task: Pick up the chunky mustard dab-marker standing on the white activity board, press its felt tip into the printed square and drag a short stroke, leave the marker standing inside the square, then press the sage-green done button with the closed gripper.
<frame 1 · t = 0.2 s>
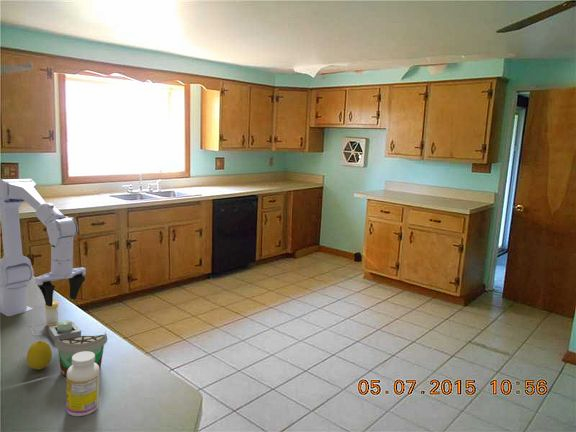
hand: (61, 301, 130), 10 cm above the countertop, tool pointing down, fingers open, 7 cm apart
lemon: (39, 370, 111), on the countertop
done button: (64, 327, 128), point 3 cm above the countertop, slide at 0.0 cm
button housing: (64, 336, 129), resting on board
board: (52, 332, 131), on the countertop
supplement bottle: (82, 409, 98), on the countertop
food container: (81, 376, 110), on the countertop
marker: (52, 324, 135), resting on board
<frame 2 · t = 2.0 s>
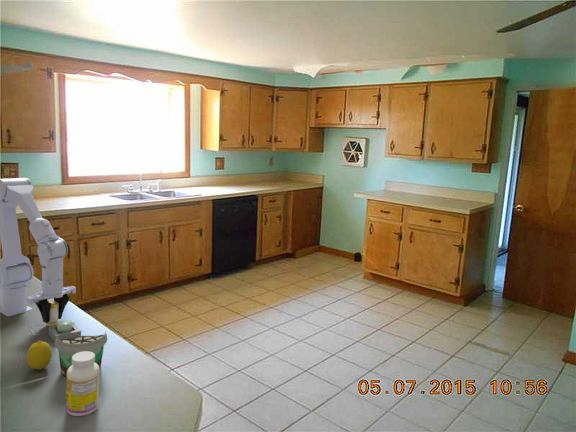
hand: (52, 320, 135), 2 cm above the countertop, tool pointing down, fingers closed on marker, 3 cm apart
marker: (52, 324, 135), resting on board, touching gripper
everything else where it was.
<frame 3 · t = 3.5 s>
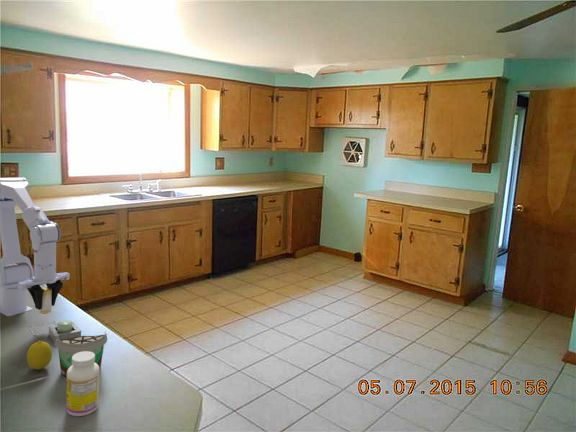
hand: (45, 306, 131), 7 cm above the countertop, tool pointing down, fingers closed on marker, 3 cm apart
marker: (45, 311, 131), point 6 cm above the countertop, touching gripper
everything else where it was.
when the fingers open (2 cm above the countertop, at t = 5.4 s): marker stays where it is, resting on board.
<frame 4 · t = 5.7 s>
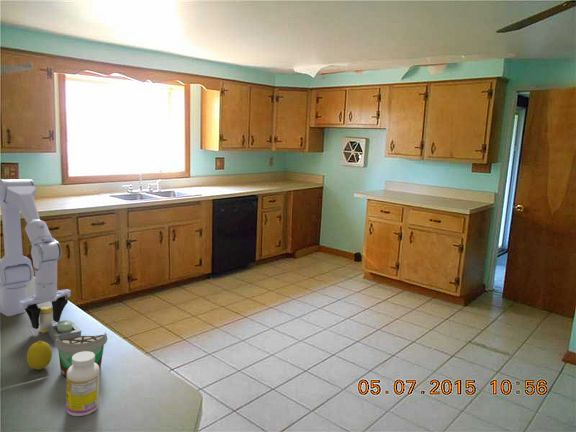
hand: (46, 324, 131), 2 cm above the countertop, tool pointing down, fingers open, 6 cm apart
marker: (46, 330, 131), resting on board
everything else where it was.
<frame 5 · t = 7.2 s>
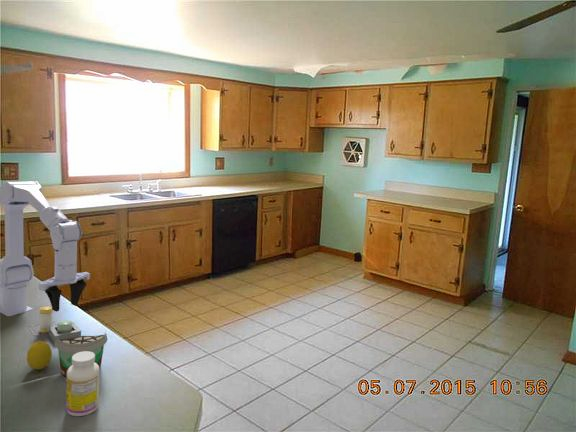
hand: (65, 307, 127), 9 cm above the countertop, tool pointing down, fingers open, 5 cm apart
nothing on the countertop moved.
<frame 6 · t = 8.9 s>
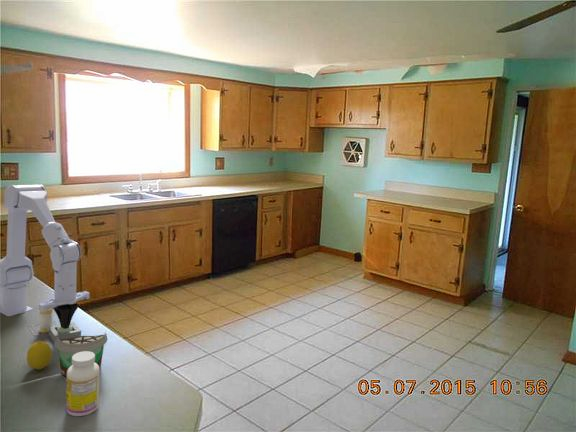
hand: (65, 327, 128), 3 cm above the countertop, tool pointing down, fingers closed, pressing on done button
done button: (64, 331, 128), point 2 cm above the countertop, slide at 1.3 cm, touching gripper
everything else where it was.
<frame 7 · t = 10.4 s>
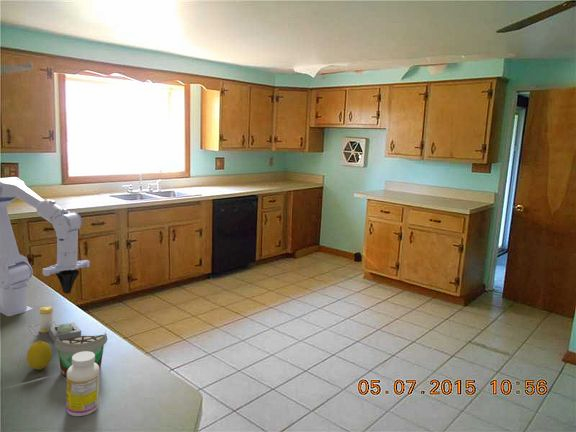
hand: (66, 292, 137), 10 cm above the countertop, tool pointing down, fingers closed
done button: (64, 331, 129), point 2 cm above the countertop, slide at 1.4 cm
everything else where it was.
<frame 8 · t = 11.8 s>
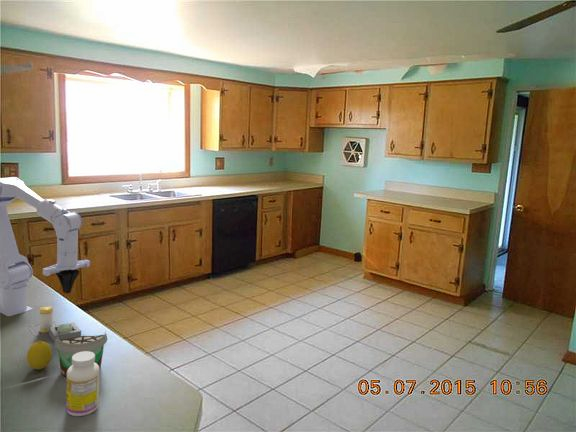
hand: (66, 292, 137), 10 cm above the countertop, tool pointing down, fingers closed
nothing on the countertop moved.
at the end: marker inside the target area (1.6 cm from its centre), resting on board; marker tilted 0°; done button slide at 1.4 cm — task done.
